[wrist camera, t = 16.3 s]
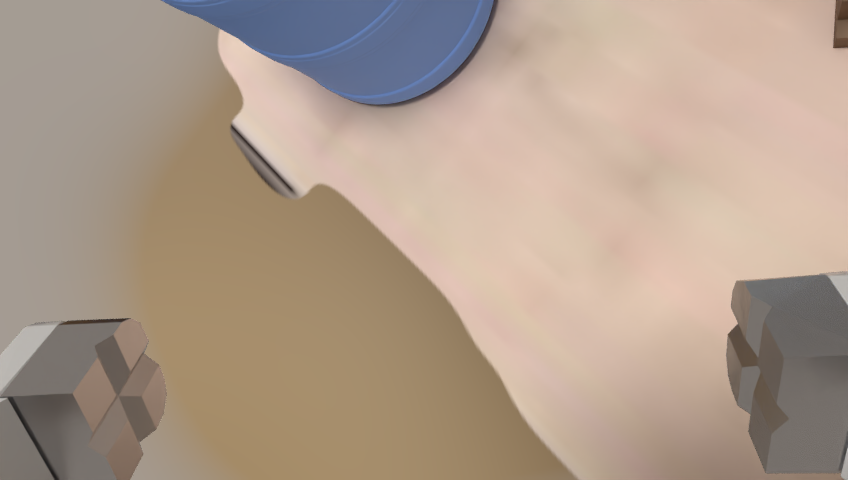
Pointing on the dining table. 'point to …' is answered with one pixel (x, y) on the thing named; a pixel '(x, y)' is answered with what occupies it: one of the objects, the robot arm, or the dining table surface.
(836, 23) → the frame
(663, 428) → the dining table surface
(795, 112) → the dining table surface
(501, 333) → the dining table surface
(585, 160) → the dining table surface
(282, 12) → the water jug
